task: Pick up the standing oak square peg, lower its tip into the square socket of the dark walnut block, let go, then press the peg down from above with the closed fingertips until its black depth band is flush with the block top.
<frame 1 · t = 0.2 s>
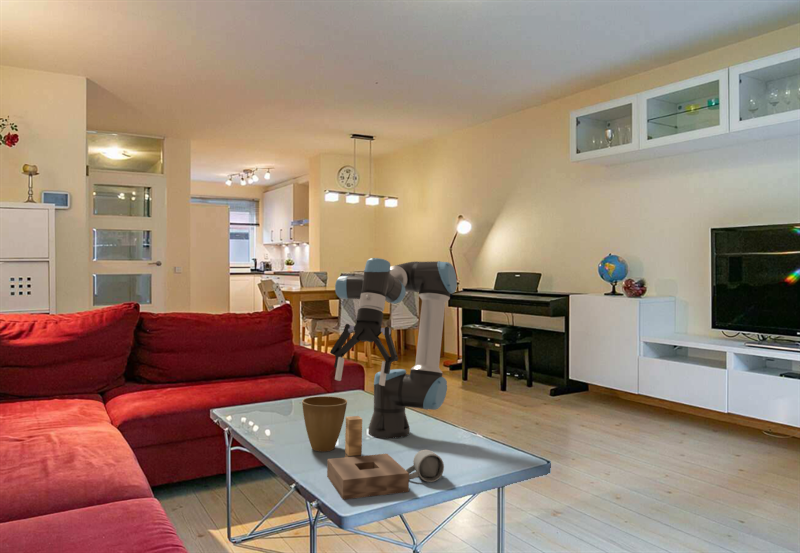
hand: (359, 382, 162), 27 cm above the table, tool tilted 15°, fingers open, 13 cm apart
ceramic mug: (423, 478, 164), on the table
oak peg: (353, 468, 172), on the table
walnut socket block: (366, 483, 158), on the table
plant pot: (323, 449, 191), on the table
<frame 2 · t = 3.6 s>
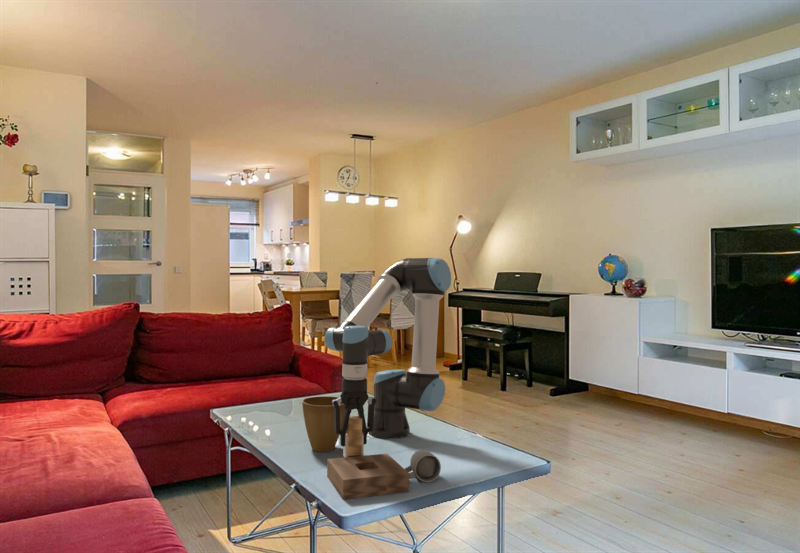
hand: (353, 455, 172), 4 cm above the table, tool pointing down, fingers closed on oak peg, 4 cm apart
oak peg: (353, 468, 172), on the table, touching gripper
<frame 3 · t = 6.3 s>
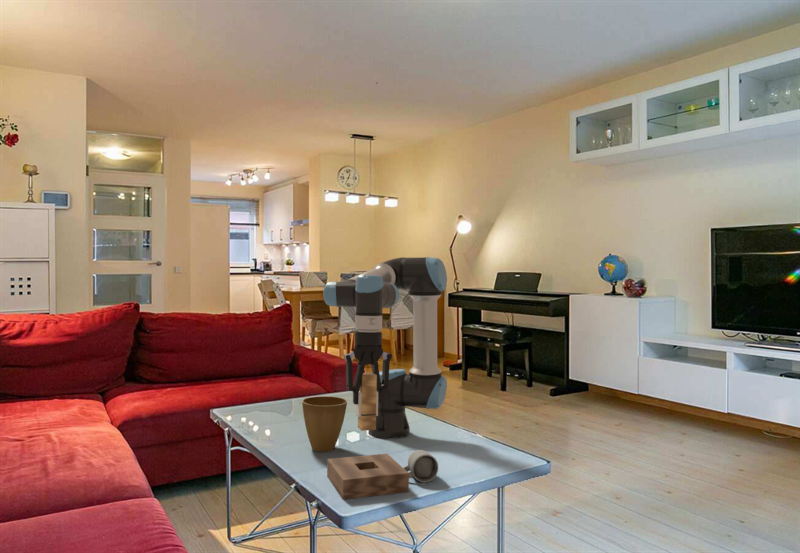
hand: (366, 415, 159), 19 cm above the table, tool pointing down, fingers closed on oak peg, 4 cm apart
oak peg: (366, 428, 159), point 15 cm above the table, touching gripper
when the fingers open (7 cm above the table, at t = 9.2 s): oak peg drops 2 cm, resting on walnut socket block.
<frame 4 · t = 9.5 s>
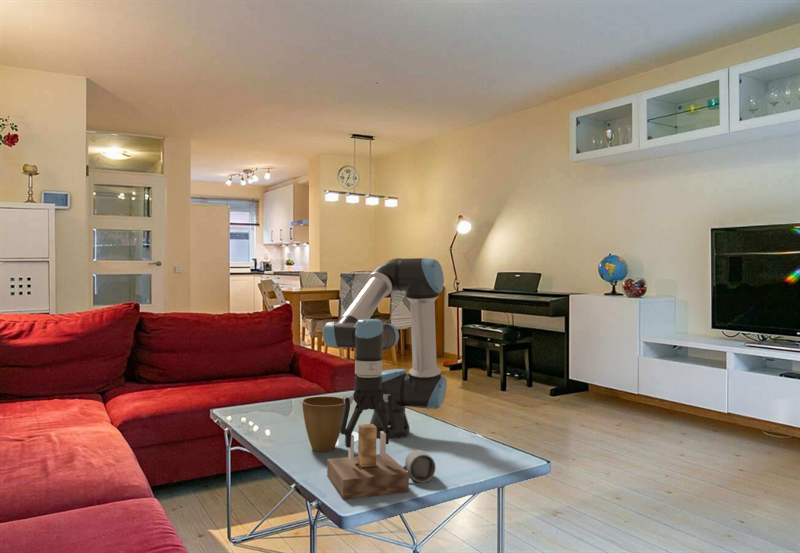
hand: (366, 457, 159), 7 cm above the table, tool pointing down, fingers open, 8 cm apart
oak peg: (366, 480, 159), point 1 cm above the table, touching walnut socket block
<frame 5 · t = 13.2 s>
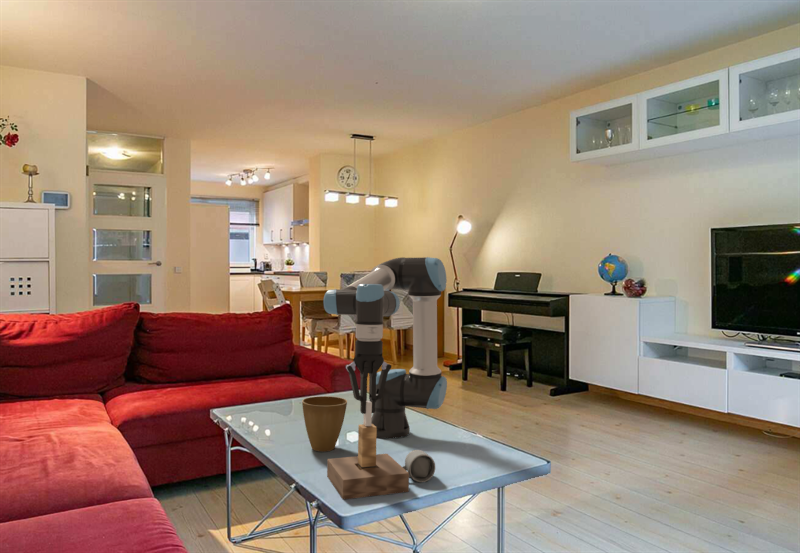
hand: (367, 425, 159), 16 cm above the table, tool pointing down, fingers closed
oak peg: (366, 480, 159), point 1 cm above the table, touching gripper, walnut socket block
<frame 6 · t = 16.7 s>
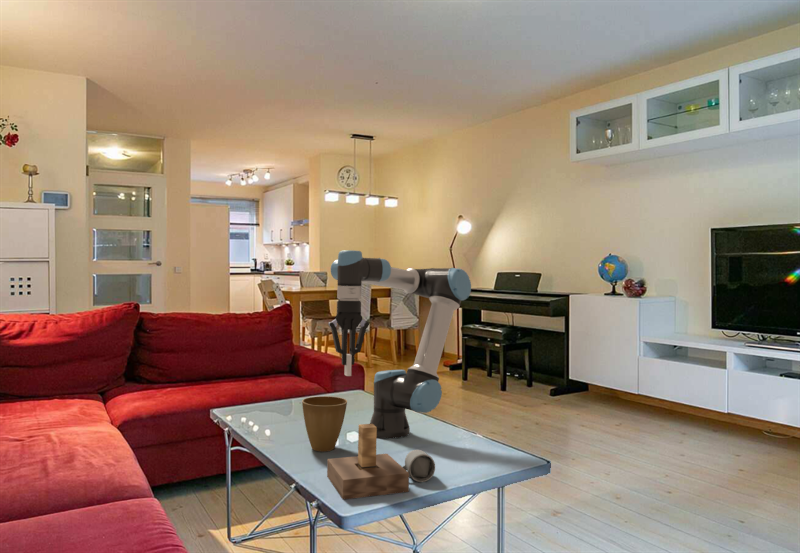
hand: (347, 375, 179), 26 cm above the table, tool pointing down, fingers closed
oak peg: (366, 480, 159), point 1 cm above the table, touching walnut socket block
at the end: oak peg 0.0 cm off-centre on the walnut socket block, point 1.0 cm above the walnut socket block's base; oak peg tilted 0°; the gripper is holding nothing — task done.
